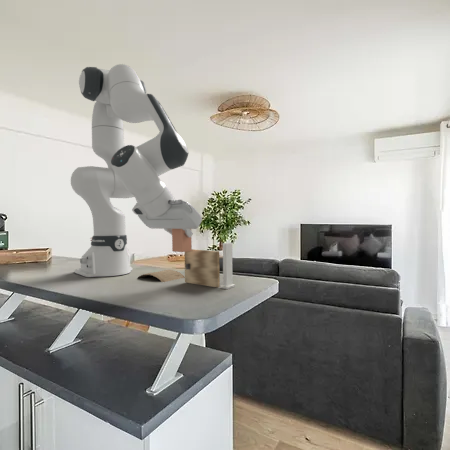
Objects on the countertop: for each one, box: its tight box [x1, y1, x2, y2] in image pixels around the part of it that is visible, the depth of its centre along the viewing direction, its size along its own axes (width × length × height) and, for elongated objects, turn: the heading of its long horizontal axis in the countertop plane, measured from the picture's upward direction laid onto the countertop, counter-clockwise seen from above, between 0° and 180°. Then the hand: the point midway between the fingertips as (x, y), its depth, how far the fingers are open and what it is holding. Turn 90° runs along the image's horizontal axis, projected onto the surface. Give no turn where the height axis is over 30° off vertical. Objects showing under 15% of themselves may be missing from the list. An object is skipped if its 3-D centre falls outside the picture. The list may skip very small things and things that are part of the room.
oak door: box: [184, 248, 221, 288], centre depth 94 cm, size 13×2×10 cm, turn 53°
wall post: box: [220, 242, 236, 290], centre depth 91 cm, size 2×4×13 cm, turn 143°
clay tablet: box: [137, 269, 185, 283], centre depth 107 cm, size 14×10×3 cm
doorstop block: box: [171, 229, 193, 253], centre depth 93 cm, size 4×4×8 cm
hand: (183, 235), depth 93 cm, fingers closed on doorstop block, 4 cm apart
